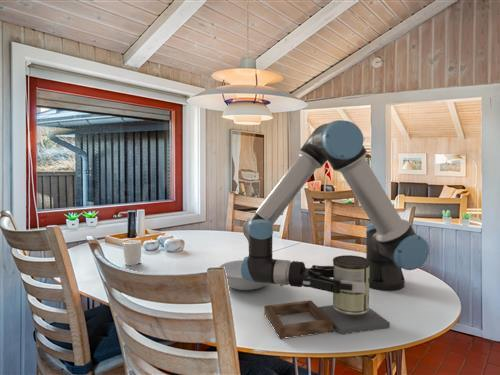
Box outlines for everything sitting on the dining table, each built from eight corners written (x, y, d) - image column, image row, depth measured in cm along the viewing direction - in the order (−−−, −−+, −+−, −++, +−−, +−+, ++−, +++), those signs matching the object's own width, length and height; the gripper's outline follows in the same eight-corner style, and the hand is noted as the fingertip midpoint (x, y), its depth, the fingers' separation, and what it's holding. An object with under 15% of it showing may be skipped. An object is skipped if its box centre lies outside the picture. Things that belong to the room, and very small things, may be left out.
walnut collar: (311, 309, 115) (310, 300, 114) (332, 331, 100) (332, 321, 100) (264, 315, 111) (264, 305, 111) (280, 339, 97) (280, 328, 96)
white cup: (136, 266, 163) (135, 244, 162) (120, 265, 165) (119, 243, 164) (145, 261, 171) (144, 240, 170) (129, 260, 172) (128, 239, 171)
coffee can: (328, 300, 112) (329, 255, 111) (362, 300, 112) (363, 254, 111) (337, 315, 102) (338, 265, 101) (374, 314, 102) (375, 264, 101)
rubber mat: (360, 306, 116) (360, 301, 116) (389, 327, 102) (389, 322, 102) (316, 311, 113) (316, 307, 113) (339, 334, 98) (339, 329, 98)
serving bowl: (212, 295, 128) (211, 276, 127) (224, 276, 148) (224, 259, 148) (272, 297, 125) (272, 277, 124) (276, 277, 146) (276, 260, 145)
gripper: (299, 274, 124) (369, 281, 116) (279, 298, 103) (363, 310, 95) (299, 252, 123) (369, 258, 115) (279, 272, 102) (363, 281, 94)
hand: (366, 281), depth 105 cm, fingers closed on coffee can, 10 cm apart
